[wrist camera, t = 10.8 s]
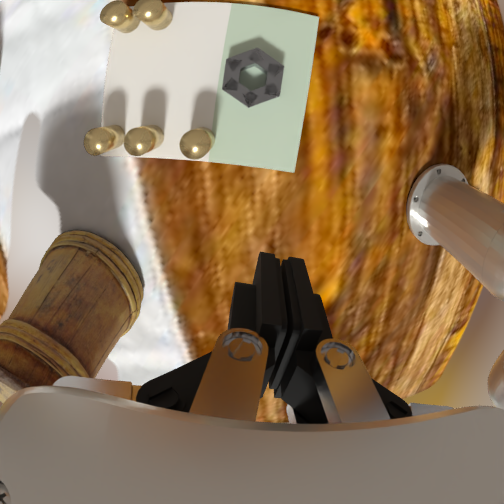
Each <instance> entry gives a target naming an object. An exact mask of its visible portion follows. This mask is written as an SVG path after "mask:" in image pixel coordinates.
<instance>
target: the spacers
mask: <svg viewBox="0 0 504 504" xmlns="http://www.w3.org/2000/svg"><path fill="white" fill-rule="evenodd" d="M172 19H173V16H172V14H171V12H170V11H169V10H168V9H167V7H166V6H165V5H164V4H163V2H162V1H161V0H139V1H138V2H137V3H136V4H135V6H134V9H133V10H132V9H131V8H130V7H128V6H127V5H126V4H125V3H123V2H122V1H113V2H110V3H109V4H107V5H106V6H105V7H104V8H103V9H102V11H101V14H100V20H101V21H102V22H103V23H105V24H107V25H109V26H111V27H113V28H114V29H116V30H118V31H120V32H122V33H130V32H132V31H134V30H135V29H136V28H137V27H138V26H139V24H140V21H142V22H143V23H145V24H146V25H147V26H148V27H150V28H151V29H153V30H162V29H165V28H166V27H168V26H169V25H170V23H171V22H172ZM163 140H164V133H163V131H162V129H161V128H160V127H159V126H157V125H147V126H142V127H136V128H133V129H131V130H129V131H128V132H127V134H126V135H125V132H124V130H123V128H122V127H121V126H119V125H110V126H105V127H99V128H94V129H91V130H90V131H88V133H87V134H86V136H85V138H84V147H85V149H86V151H87V152H88V153H89V154H90V155H93V156H96V155H100V154H102V153H105V152H108V151H110V150H113V149H116V148H118V147H120V146H121V145H122V144H123V143H124V147H125V150H126V151H127V152H128V153H129V154H130V155H132V156H141V155H143V154H145V153H147V152H150V151H152V150H154V149H156V148H158V147H159V146H160V145H161V144H162V143H163ZM214 144H215V136H214V133H213V132H212V131H211V130H210V129H208V128H205V127H200V128H196V129H193V130H190V131H188V132H186V133H185V134H184V135H183V136H182V137H181V139H180V144H179V146H180V150H181V152H182V154H183V155H184V156H185V157H187V158H189V159H193V160H195V159H200V158H202V157H204V156H205V155H206V154H207V153H208V152H209V151H210V150H211V149H212V147H213V146H214Z"/></svg>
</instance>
